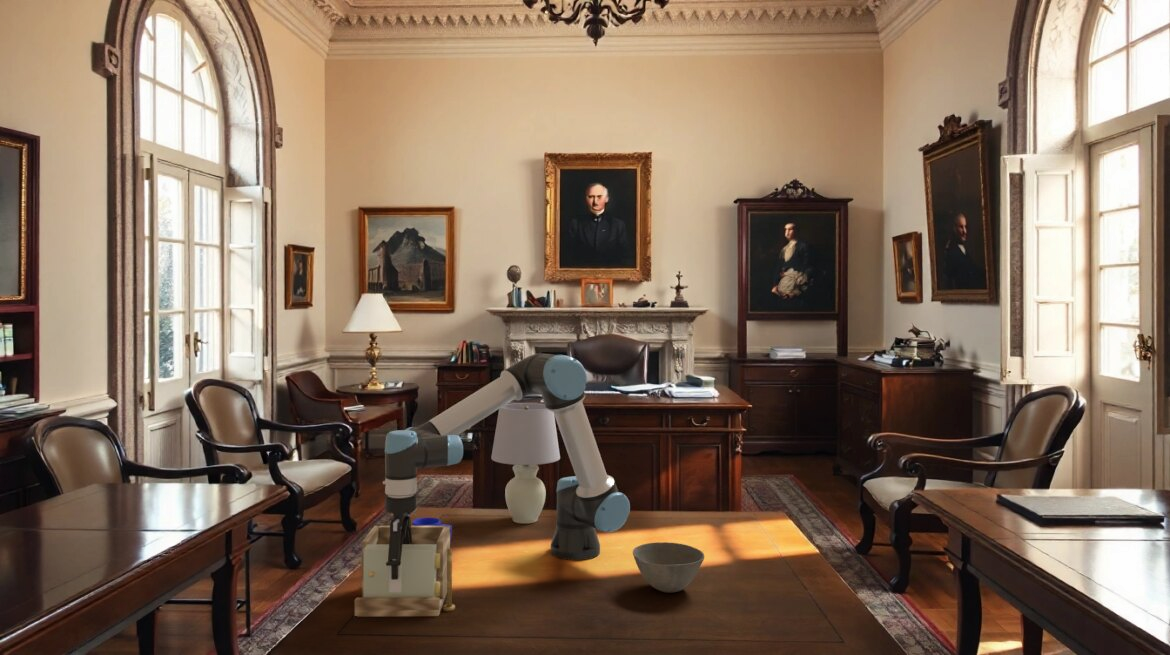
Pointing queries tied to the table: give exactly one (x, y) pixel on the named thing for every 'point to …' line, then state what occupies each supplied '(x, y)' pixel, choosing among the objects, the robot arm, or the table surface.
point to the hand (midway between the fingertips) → (400, 582)
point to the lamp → (525, 455)
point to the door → (415, 571)
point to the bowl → (668, 564)
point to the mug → (430, 523)
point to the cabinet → (412, 604)
